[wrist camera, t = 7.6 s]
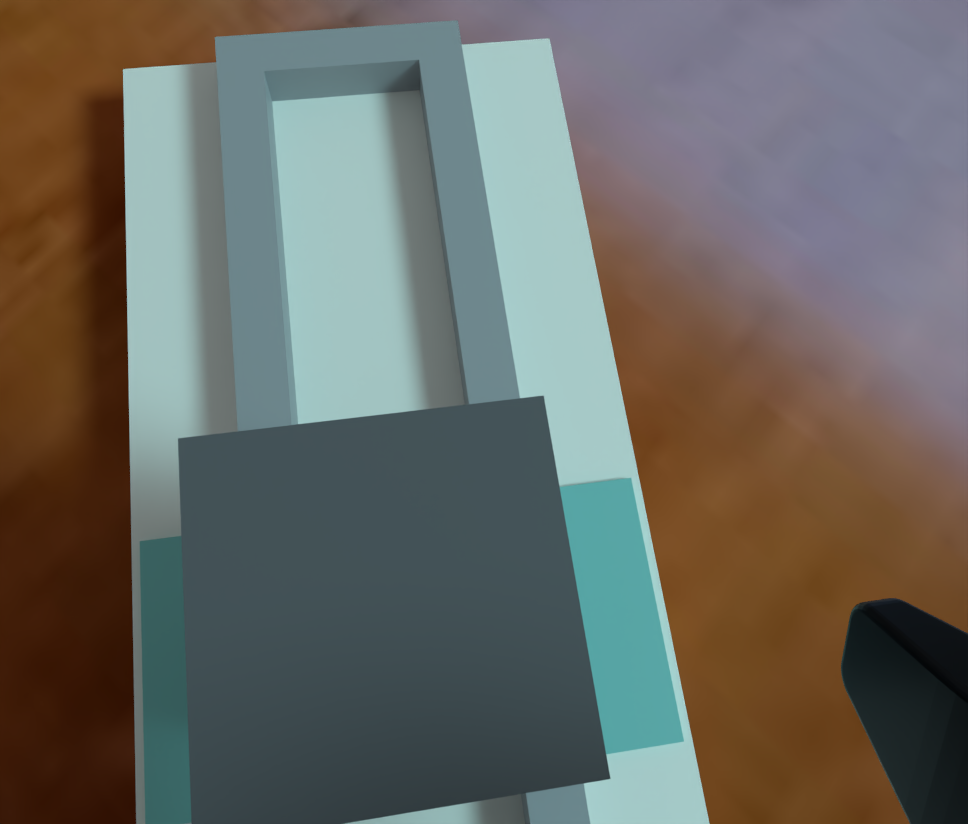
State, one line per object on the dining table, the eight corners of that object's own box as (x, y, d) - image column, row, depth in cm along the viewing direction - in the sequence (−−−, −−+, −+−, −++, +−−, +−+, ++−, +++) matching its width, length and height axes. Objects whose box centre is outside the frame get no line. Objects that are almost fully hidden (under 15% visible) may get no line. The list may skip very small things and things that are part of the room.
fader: (516, 739, 15) (615, 810, 7) (322, 770, 15) (194, 882, 7) (485, 522, 16) (539, 371, 8) (304, 546, 16) (176, 413, 8)
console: (826, 1527, 13) (912, 1714, 11) (186, 1701, 12) (127, 1949, 10) (541, 80, 21) (555, 6, 19) (144, 111, 20) (106, 37, 18)
